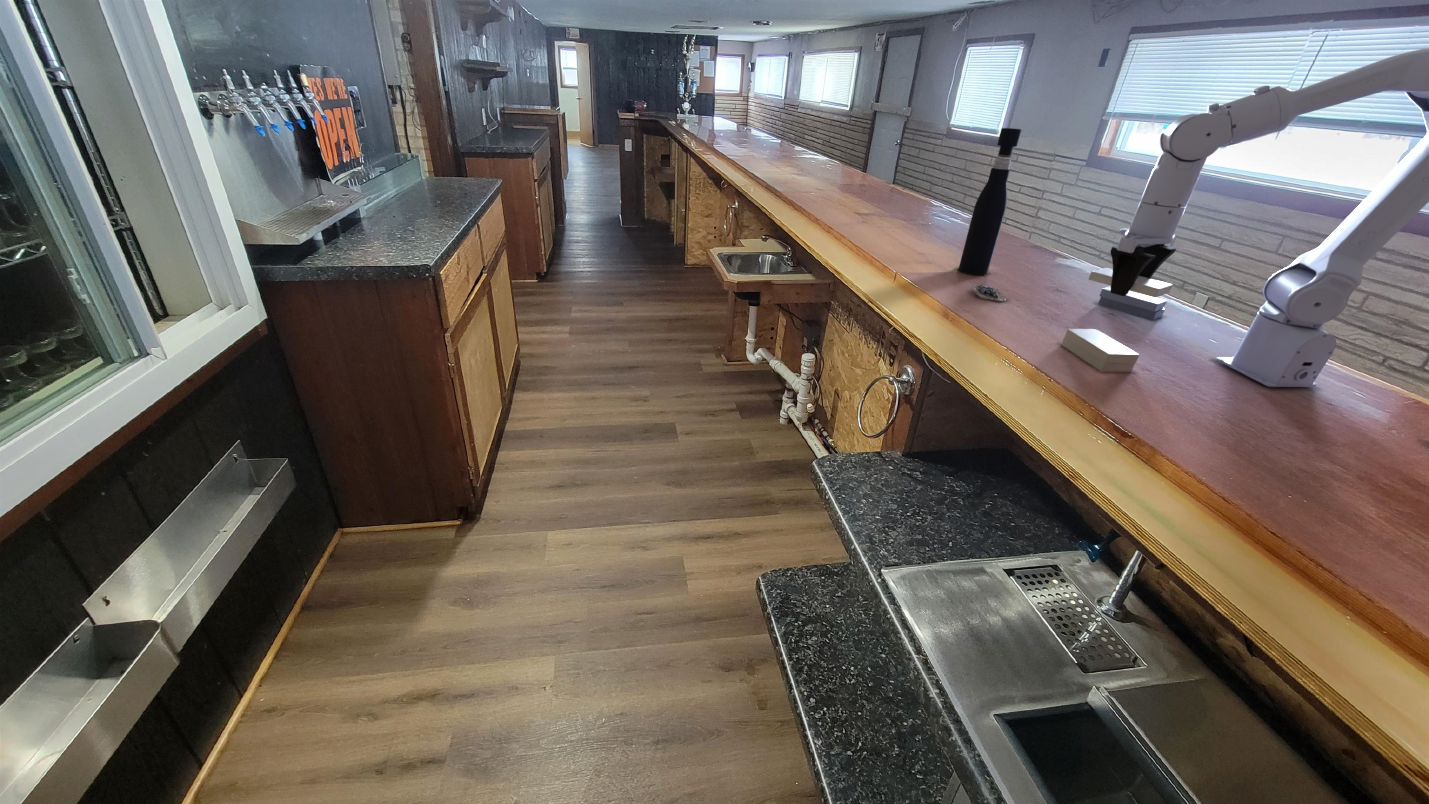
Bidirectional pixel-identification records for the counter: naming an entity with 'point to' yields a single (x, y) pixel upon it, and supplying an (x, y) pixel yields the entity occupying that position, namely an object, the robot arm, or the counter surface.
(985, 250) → the wine bottle
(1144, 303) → the grey books
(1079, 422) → the counter surface
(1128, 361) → the cream rectangular block
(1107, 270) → the white book
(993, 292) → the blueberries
